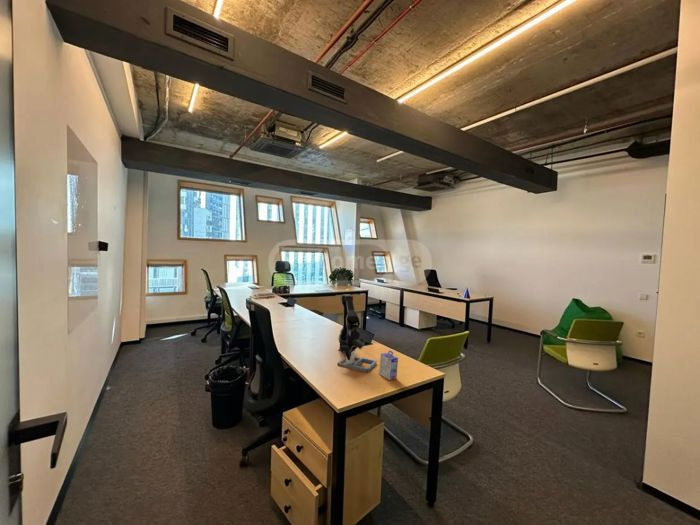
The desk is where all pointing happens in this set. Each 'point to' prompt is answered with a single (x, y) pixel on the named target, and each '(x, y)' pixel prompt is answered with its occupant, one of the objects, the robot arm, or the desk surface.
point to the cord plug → (351, 358)
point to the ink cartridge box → (388, 365)
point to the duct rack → (355, 365)
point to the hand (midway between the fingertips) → (350, 358)
